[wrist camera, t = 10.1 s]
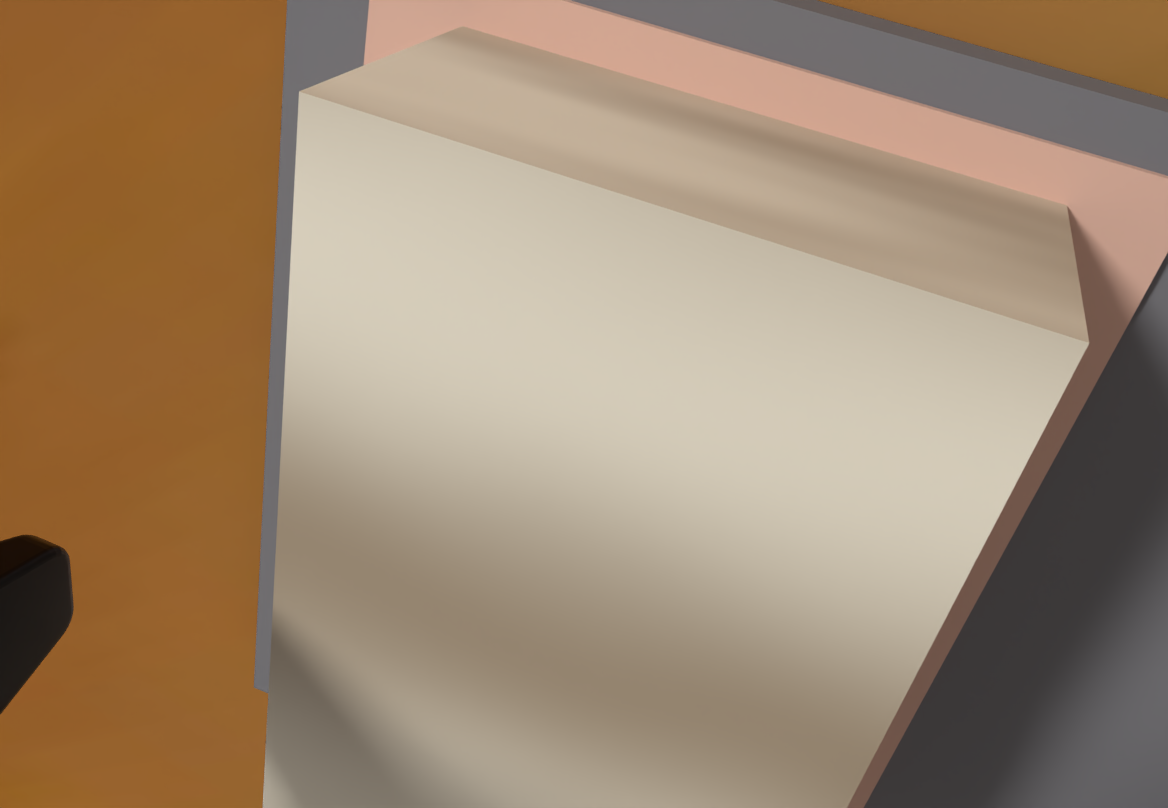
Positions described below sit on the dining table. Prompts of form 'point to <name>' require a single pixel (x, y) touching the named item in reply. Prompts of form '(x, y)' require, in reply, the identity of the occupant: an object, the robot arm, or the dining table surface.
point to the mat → (1071, 437)
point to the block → (630, 436)
